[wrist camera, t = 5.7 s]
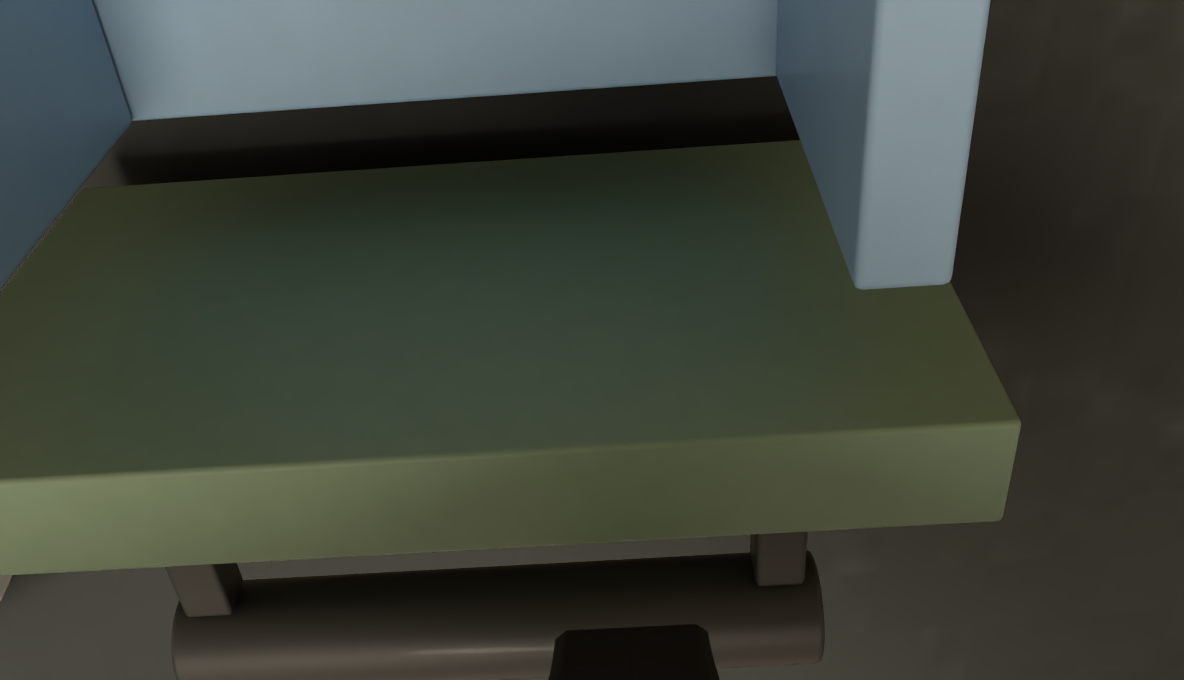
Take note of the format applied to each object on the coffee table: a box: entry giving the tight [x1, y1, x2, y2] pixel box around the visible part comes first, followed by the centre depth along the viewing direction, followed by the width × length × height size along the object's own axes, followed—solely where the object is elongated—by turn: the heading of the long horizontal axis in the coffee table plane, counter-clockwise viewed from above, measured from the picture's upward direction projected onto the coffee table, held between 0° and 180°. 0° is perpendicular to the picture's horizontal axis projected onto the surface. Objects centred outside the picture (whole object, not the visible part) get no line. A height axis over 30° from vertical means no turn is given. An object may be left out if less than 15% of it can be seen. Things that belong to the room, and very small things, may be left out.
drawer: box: [0, 0, 1021, 680], centre depth 10 cm, size 17×10×6 cm, turn 4°
